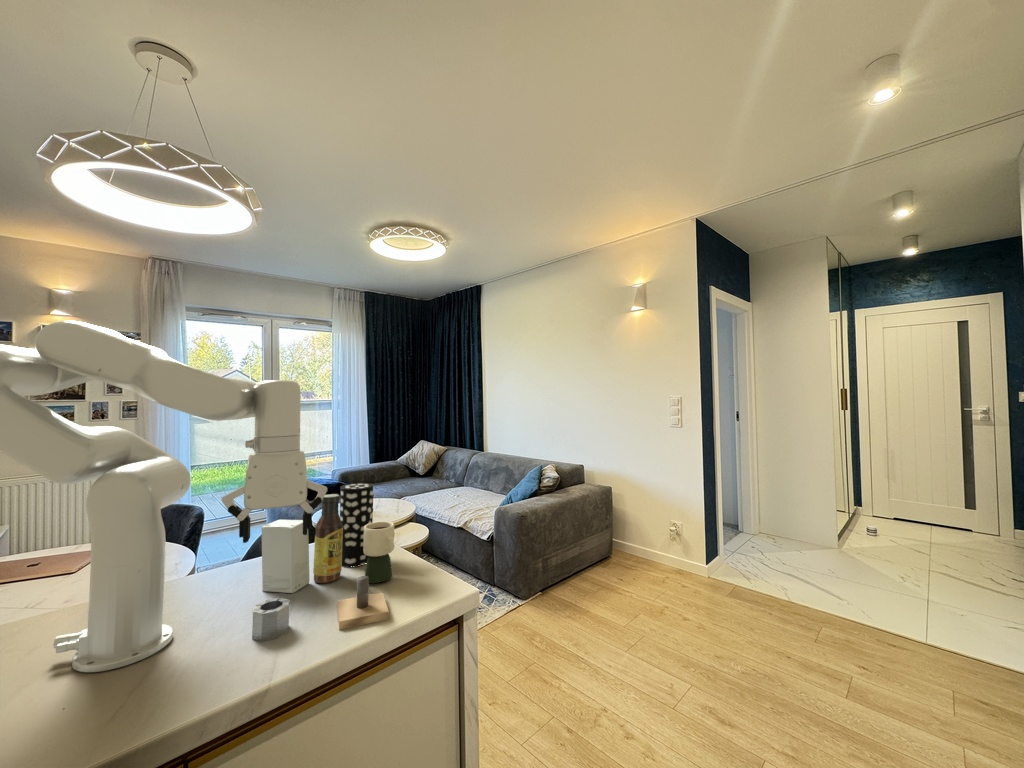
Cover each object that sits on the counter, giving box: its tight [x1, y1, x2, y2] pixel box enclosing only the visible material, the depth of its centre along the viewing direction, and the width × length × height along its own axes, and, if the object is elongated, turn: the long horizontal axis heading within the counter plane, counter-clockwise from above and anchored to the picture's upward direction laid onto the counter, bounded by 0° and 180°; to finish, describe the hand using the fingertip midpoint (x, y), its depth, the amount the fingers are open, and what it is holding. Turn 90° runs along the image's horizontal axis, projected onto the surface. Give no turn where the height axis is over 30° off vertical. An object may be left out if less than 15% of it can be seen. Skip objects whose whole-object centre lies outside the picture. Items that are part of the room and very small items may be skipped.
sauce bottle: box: [313, 493, 343, 584], centre depth 100 cm, size 6×6×20 cm
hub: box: [251, 597, 290, 642], centre depth 77 cm, size 6×6×5 cm
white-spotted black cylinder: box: [339, 482, 374, 568], centre depth 111 cm, size 8×8×20 cm
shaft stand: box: [336, 575, 390, 631], centre depth 83 cm, size 9×9×7 cm
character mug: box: [363, 521, 396, 584], centre depth 99 cm, size 11×7×13 cm, turn 51°
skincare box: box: [261, 519, 310, 594], centre depth 95 cm, size 8×6×15 cm
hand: (276, 536), depth 78 cm, fingers open, 9 cm apart
